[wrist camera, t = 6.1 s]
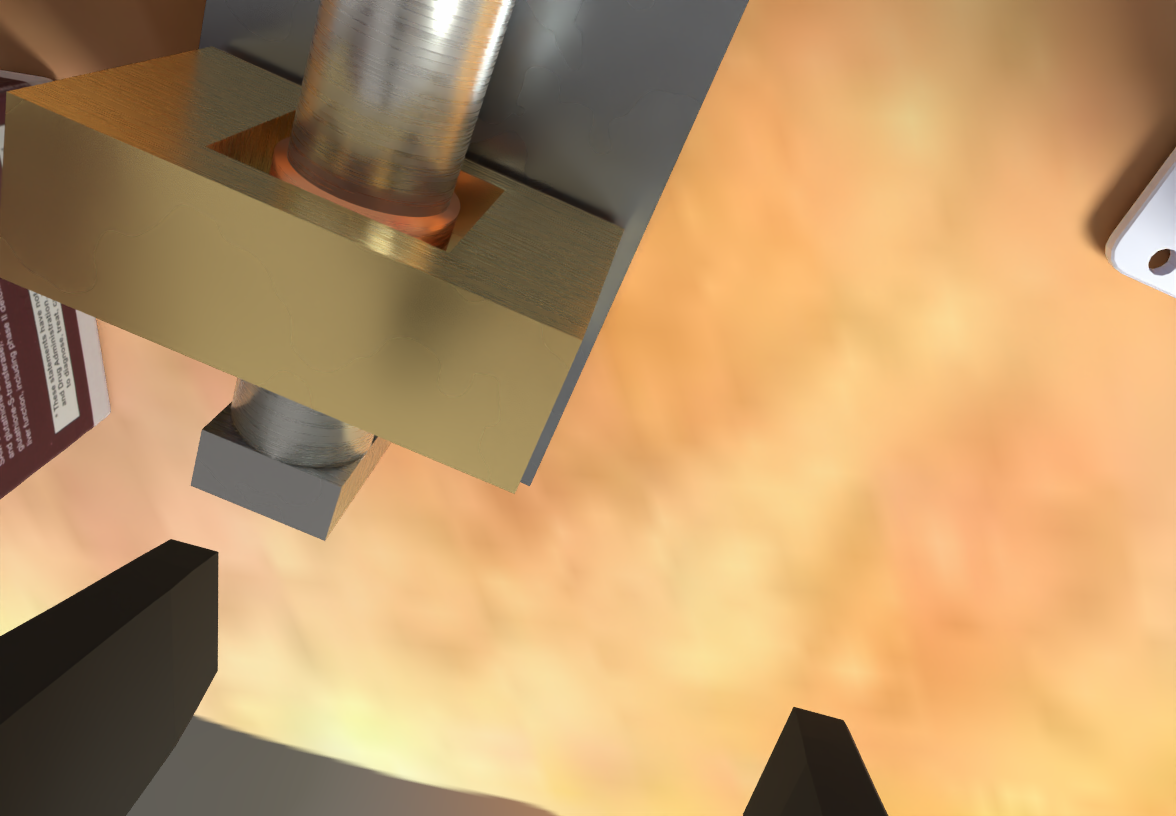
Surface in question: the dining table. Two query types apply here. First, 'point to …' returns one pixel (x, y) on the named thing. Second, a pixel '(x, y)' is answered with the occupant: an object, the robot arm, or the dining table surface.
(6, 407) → the supplement box
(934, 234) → the dining table surface
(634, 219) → the pipe stand
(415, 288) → the yellow block with hole
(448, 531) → the dining table surface
